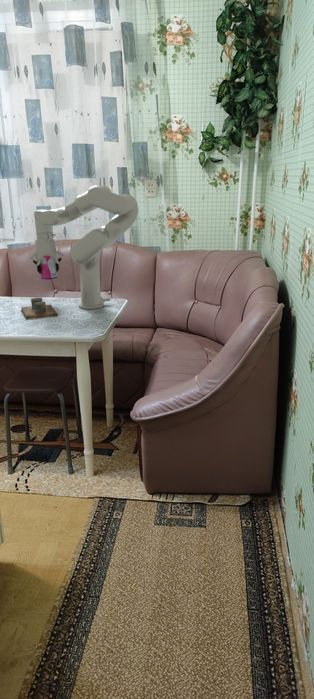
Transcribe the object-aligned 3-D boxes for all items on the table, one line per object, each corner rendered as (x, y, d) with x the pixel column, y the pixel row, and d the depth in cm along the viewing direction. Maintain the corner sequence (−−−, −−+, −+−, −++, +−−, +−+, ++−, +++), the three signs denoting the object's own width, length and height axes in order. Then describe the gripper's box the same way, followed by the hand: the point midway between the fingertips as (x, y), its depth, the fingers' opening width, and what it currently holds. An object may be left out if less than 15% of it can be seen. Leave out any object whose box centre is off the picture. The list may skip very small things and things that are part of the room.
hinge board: (50, 307, 251) (49, 294, 249) (57, 316, 235) (56, 302, 233) (21, 310, 246) (20, 297, 244) (26, 319, 230) (25, 305, 228)
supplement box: (49, 277, 257) (46, 254, 254) (57, 277, 254) (55, 254, 250) (40, 279, 253) (38, 255, 249) (48, 279, 250) (46, 256, 246)
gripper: (60, 234, 253) (64, 269, 259) (25, 237, 248) (29, 273, 253) (63, 235, 247) (67, 271, 252) (27, 238, 241) (31, 275, 246)
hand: (48, 272), depth 253 cm, fingers closed on supplement box, 7 cm apart
